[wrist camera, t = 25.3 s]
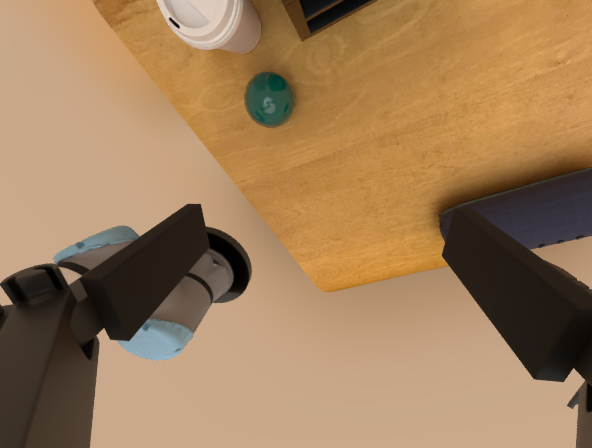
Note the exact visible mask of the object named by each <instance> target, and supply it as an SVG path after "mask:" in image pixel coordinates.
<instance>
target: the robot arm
mask: <svg viewBox="0 0 592 448" xmlns="http://www.w3.org/2000/svg"><path fill="white" fill-rule="evenodd" d="M442 257H443V258H444V259H445V261H446V262H447V263H448V265H449V266H450V267H451V269H452V270H453V271H454V273H455V274H456V275H457V277H458V278H459V279H460V280H461V282H462V283H463V285H464V286H465V287H466V289H467V290H468V291H469V293H470V294H471V295H472V297H473V298H474V299H475V301H476V302H477V304H478V305H479V306H480V307H481V309H482V310H483V312H484V313H485V314H486V316H487V317H488V318H489V320H490V321H491V322H492V324H493V325H494V326H495V328H496V329H497V330H498V332H499V333H500V334H501V336H502V337H503V338H504V340H505V341H506V342H507V344H508V345H509V346H510V348H511V349H512V350H513V352H514V353H515V354H516V356H517V357H518V358H519V360H520V361H521V362H522V364H523V365H524V366H525V368H526V369H527V370H528V372H529V373H530V374H531V376H532V377H533V378H534V379H536V380H547V381H557V382H564V381H565V379H566V378H567V377H568V375H569V374H570V372H571V371H572V369H573V368H574V369H575V370H576V371H577V372H578V373H579V374H580V375H581V376H582V377H583V378H584V379H585V382H584V383H583V384H582V386H581V387H580V388H579V390H578V391H577V392H576V393H575V395H574V396H573V397H572V399H571V400H570V401H569V403H568V405H567V406H568V407H570V408H572V409H573V408H574V406H575V405H576V404H578V421H577V439H576V448H592V289H589V287H588V286H587V285H585V284H584V283H582V282H580V281H577V278H575V277H573V276H572V275H571V274H569V273H568V272H567V271H565V270H564V269H562V268H560V267H558V266H556V265H553V264H551V263H549V262H547V261H545V260H543V259H541V258H540V257H539V256H537V255H536V254H534V253H533V252H532V251H530V250H529V249H527V248H526V247H525V246H523V245H522V244H521V243H519V242H518V241H516V240H515V239H514V238H512V237H511V236H509V235H508V234H507V233H505V232H504V231H503V230H501V229H500V228H498V227H497V226H496V225H494V224H493V223H491V222H490V221H489V220H487V219H486V218H485V217H483V216H482V215H480V214H479V213H478V212H476V211H475V210H473V209H472V208H454V211H453V215H452V219H451V223H450V226H449V230H448V234H447V238H446V242H445V245H444V249H443V253H442ZM53 260H54V263H55V264H42V265H37V266H33V267H30V268H27V269H24V270H21V271H19V272H17V273H15V274H13V275H11V276H9V277H7V278H6V279H4V280H3V281H2V282H1V283H0V286H1V287H2V288H3V290H4V291H5V293H6V294H7V296H8V297H9V298H10V300H11V301H12V303H13V304H12V305H6V306H1V305H0V448H90V439H91V429H92V428H91V427H92V418H93V407H94V397H95V385H96V374H97V364H98V354H99V340H98V338H97V336H96V335H97V334H98V333H99V332H100V331H101V330H102V329H103V328H105V330H106V332H107V334H108V336H109V338H110V339H111V340H118V342H119V344H120V345H121V346H122V347H123V348H124V349H126V350H127V351H129V352H131V353H132V354H134V355H137V356H139V357H142V358H145V359H151V360H167V359H171V358H174V357H176V356H177V355H179V354H180V353H181V352H182V350H183V349H184V347H185V346H186V345H187V343H188V342H189V341H190V340H191V339H192V337H193V334H194V332H195V331H196V329H197V328H198V326H199V324H200V323H201V321H202V319H203V317H204V316H205V314H206V313H207V311H208V309H209V307H210V306H211V304H212V303H213V302H214V301H215V300H216V299H217V298H219V297H220V296H221V295H223V294H224V293H226V292H227V291H228V290H229V288H230V287H231V285H232V283H233V281H234V275H235V274H234V269H233V266H232V264H231V262H230V261H229V259H228V258H227V257H226V256H225V255H224V254H223V253H222V252H220V251H219V250H217V249H215V248H213V247H210V245H209V240H208V236H207V231H206V226H205V222H204V218H203V213H202V208H201V204H187V205H186V206H184V207H183V208H181V209H180V210H178V211H177V212H175V213H174V214H172V215H171V216H169V217H168V218H167V219H165V220H164V221H162V222H161V223H159V224H158V225H156V226H155V227H153V228H152V229H151V230H149V231H148V232H146V233H145V234H143V235H142V236H139V235H138V234H137V233H136V232H135V231H134V230H133V229H131V228H130V227H128V226H117V227H113V228H111V229H107V230H105V231H102V232H100V233H98V234H95V235H93V236H91V237H88V238H86V239H84V240H82V241H81V242H78V243H76V244H74V245H71V246H69V247H67V248H66V249H64V250H62V251H60V252H59V253H57V254H56V255H55V256H54V257H53Z"/></svg>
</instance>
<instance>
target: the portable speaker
mask: <svg viewBox="0 0 592 448" xmlns="http://www.w3.org/2000/svg"><path fill="white" fill-rule="evenodd" d="M454 208H472V209H473V210H475V211H476V212H478V213H479V214H480V215H482V216H483V217H485V218H486V219H487V220H489V221H490V222H491V223H493V224H494V225H496V226H497V227H498V228H500V229H501V230H503V231H504V232H505V233H507V234H508V235H509V236H511V237H512V238H514V239H515V240H516V241H518V242H519V243H521V244H522V245H523V246H525V247H526V248H527V249H529V250H530V249H534V248H541V247H545V246H548V245H552V244H557V243H558V244H559V243H563V242H566V241H570V240H575V239H581V238H584V237H588V236H592V167H590V168H584V169H580V170H576V171H573V172H569V173H566V174H562V175H559V176H555V177H552V178H548V179H545V180H541V181H538V182H534V183H531V184H527V185H524V186H520V187H516V188H513V189H509V190H506V191H502V192H499V193H495V194H492V195H488V196H485V197H481V198H478V199H474V200H471V201H467V202H464V203H460V204H458V205H455V206H453V207H451V208H448V209H446V210H444V211H443V212H442V213H441V214H440V215H439V216H440V226H439V228H440V231H441V234H442V237H443V239H444V241H445V242H446V238H447V234H448V230H449V226H450V223H451V219H452V215H453V211H454Z"/></svg>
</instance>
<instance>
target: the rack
mask: <svg viewBox="0 0 592 448" xmlns="http://www.w3.org/2000/svg"><path fill="white" fill-rule="evenodd" d="M281 1H282V3H283V5H284V6H285V8H286V10H287V12H288V14H289V16H290V18H291V20H292V22H293V24H294V26H295V28H296V30H297V32H298V34H299V36H300V38H301V40H302V41H304V40H306V39H308V38H309V37H311V36H313V35H315V34H317V33H319V32H320V31H322V30H324V29H326V28H328V27H330V26H331V25H333V24H335V23H337V22H339V21H341V20H342V19H344V18H346V17H348V16H350V15H352V14H353V13H355V12H357V11H359V10H361V9H363V8H364V7H366V6H368V5H370V4H372V3H374V2H375V1H377V0H281Z"/></svg>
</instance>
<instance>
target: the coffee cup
mask: <svg viewBox="0 0 592 448" xmlns="http://www.w3.org/2000/svg"><path fill="white" fill-rule="evenodd" d="M157 3H158V5H159V7H160V10H161V12H162V14H163V16H164V18H165V20H166V22H167V23H168V25H169V26H170V28H171V29H172V30H173V31H174V33H175V34H176V35H177V36H178V37H179V38H180V39H181V40H183V41H184V42H185V43H187V44H188V45H190V46H192V47H194V48H197V49H202V50H211V49H215V48H218V49H222V50H227V51H231V52H235V53H239V54H245V53H249V52H251V51H252V50H253V49H254V48H255V47H256V46H257V44H258V42H259V40H260V37H261V22H260V18H259V16H258V14H257V12H256V10H255V8H254V6H253V4H252V3H251V1H250V0H157Z"/></svg>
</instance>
